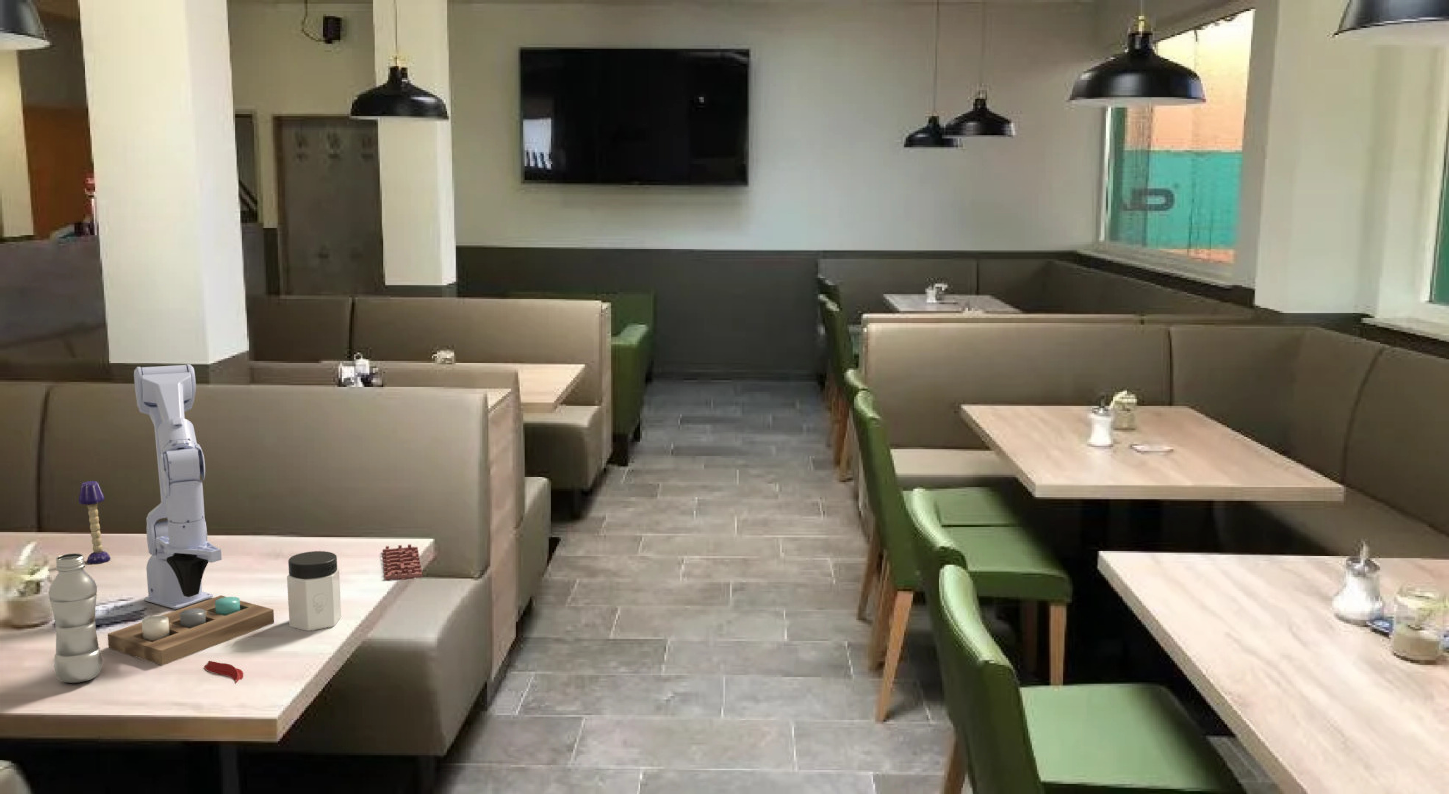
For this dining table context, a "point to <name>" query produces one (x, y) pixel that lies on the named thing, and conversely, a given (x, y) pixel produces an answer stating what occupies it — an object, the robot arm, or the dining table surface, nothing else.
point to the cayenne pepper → (224, 670)
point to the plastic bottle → (75, 621)
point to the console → (191, 632)
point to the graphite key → (192, 618)
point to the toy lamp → (93, 519)
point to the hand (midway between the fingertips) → (191, 595)
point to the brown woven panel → (401, 563)
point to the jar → (313, 590)
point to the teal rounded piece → (227, 605)
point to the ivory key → (155, 627)
